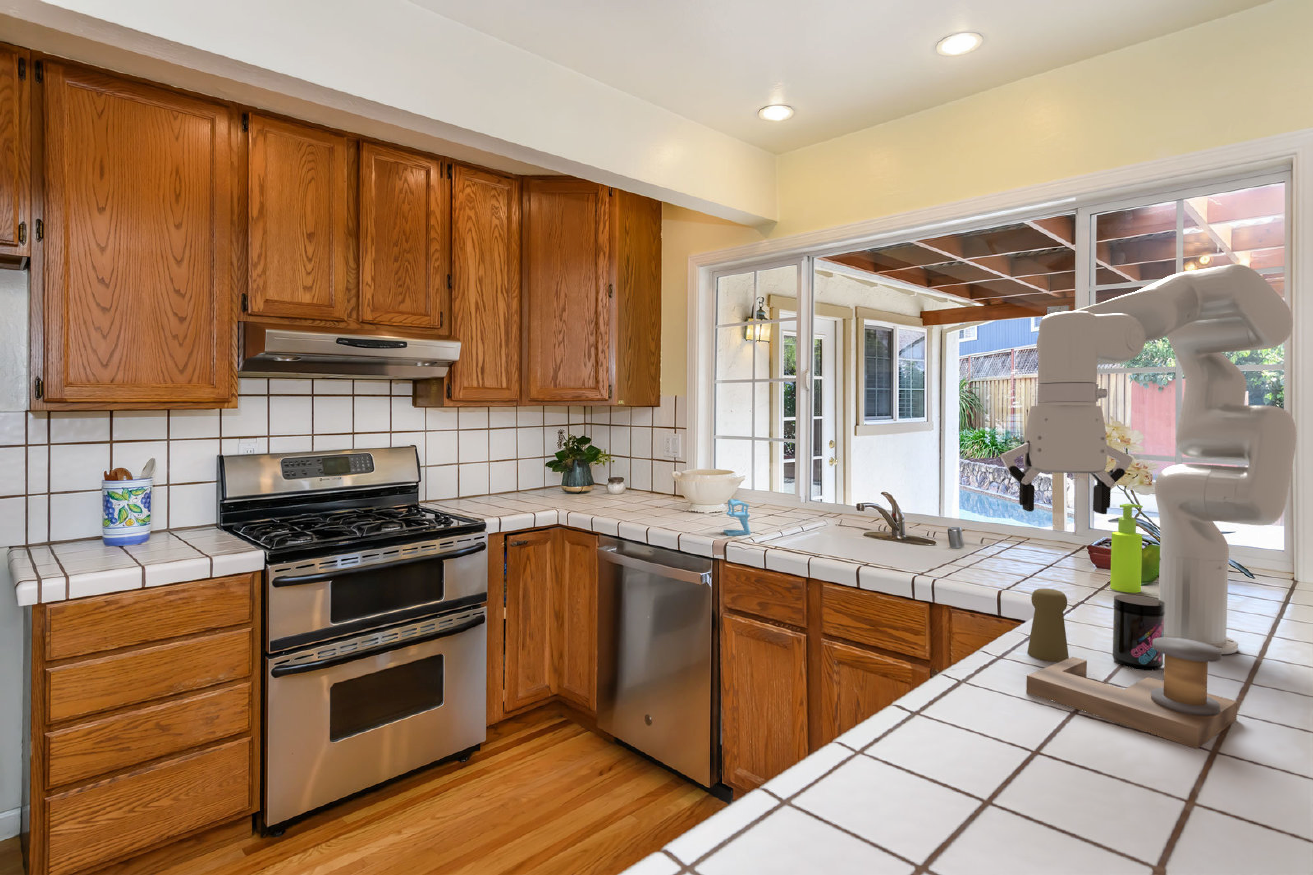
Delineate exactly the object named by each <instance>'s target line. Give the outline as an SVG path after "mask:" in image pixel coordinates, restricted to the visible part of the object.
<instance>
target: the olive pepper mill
mask: <svg viewBox="0 0 1313 875" xmlns="http://www.w3.org/2000/svg"><path fill="white" fill-rule="evenodd" d="M1030 598H1031V600H1030V601H1031V604H1032V606H1033V607H1034V613H1033V619H1032V624H1031V629H1030V636H1029V641H1028V647H1027V652H1026V653H1027V654H1028V656H1031V657H1032V658H1035V659H1038V660H1042V661H1046V662H1054V663H1059V662H1061V661H1063V660H1066V659H1068V658H1070V657H1069V649H1068V642H1067V641H1068V640H1067V633H1066V624H1065V617H1064V616H1065V615H1064V611H1065V610H1066V609H1067V607H1068V598H1067V596H1066V594H1065V593H1064V592H1062V591H1060V590H1057V589H1053V588H1038V589H1035V590H1033V592H1032V594H1031V597H1030Z"/></svg>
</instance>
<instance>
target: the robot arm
mask: <svg viewBox="0 0 1313 875" xmlns="http://www.w3.org/2000/svg"><path fill="white" fill-rule="evenodd" d="M1293 327H1294V321H1293V315H1292V311H1291V308H1290V307H1289V305H1288V304H1287V302H1286V301H1285V300H1284V299H1283V297H1282V296H1281V295H1280V294H1279V293H1278V292H1277V291H1276V290H1275V289H1274V287H1273V286H1272V285H1271V283H1269V282H1268V281H1267V280H1266V278H1265V277H1264V276H1263V275H1261V274H1260V273H1259V272H1257V271H1256V270H1254V268H1252V267H1249V266H1247V265H1245V264H1244V265H1243V264H1237V263H1236V264H1227V265H1221V266H1215V267H1214V266H1213V267H1209V268H1202V269H1196V270H1190V271H1183V272H1178V273H1175V274H1171V275H1168V276H1166V277H1164V278H1163V279H1160V280H1158V281H1156V282H1154V283H1151V284H1149V285H1147V286H1145V287H1142V288H1141V289H1138V290H1137V291H1135V292H1134V291H1133V292H1130V293H1127V294H1124V295H1123V294H1122V295H1120V296H1118V297H1117V296H1116V297H1114V298H1111V299H1108V300H1106V301H1102V302H1100V303H1095V304H1092V305H1089V306H1086V307H1081V308H1079V309H1076V310H1072V311H1071V310H1070V311H1068V310H1067V311H1061V312H1053V313H1050V314H1047V315H1045V316H1043V317H1042V318H1041V320H1040V322H1039V327H1038V336H1037V338H1036V339H1037V340H1036V352H1037V354H1038V355H1037V356H1038V360H1037V363H1038V364H1037V394H1036V395H1037V396H1036V398H1037V400H1036V403H1037V404H1036V405H1031V406H1030V408H1029V413H1028V417H1027V423H1026V428H1025V437H1024V443H1023V444H1021V445H1018V446H1016V447H1014V448H1012V449H1009V450H1008V451H1005V452H1003V453H1001V454H1000V459H1001V461H1002V463H1003V465H1004V467H1005V468H1006V471H1007V473H1009V475H1010V476H1012V477H1013V479H1014V480H1016V482H1017V483H1018V484H1019V496H1018V498H1019V500H1018V502H1019V505H1020V506H1022V510H1023V511H1026V512H1033V511H1035V485H1033V484H1032V481H1033V480H1034V479H1035V478H1036V477H1037V476H1038V475H1039V474H1040V473H1053V474H1054V473H1055V474H1056V473H1057V474H1089V475H1090V476H1091V477H1092V478H1093V479H1094V480H1095V481H1096V484H1094V486H1093V496H1092V498H1093V500H1092V501H1093V503H1092V511H1093V512H1094V513H1097V514H1099V515H1100V514H1101V515H1107V513H1108V509H1109V508H1111V490H1112V489H1111V488H1112V487H1114V486H1115V484H1116V483H1117V482H1118V481H1119V480H1120V479H1122V478H1123V477H1124V476H1125V474H1126V471H1127V470H1128V468H1129V467H1130V465H1131V463H1133V457H1132V456H1130V455H1128V454H1126V453H1125V452H1123V451H1120V450H1118V449H1116V448H1114V447H1112V446H1110V445H1108V444H1107V430H1106V424H1105V418H1104V413H1103V409H1102V406H1101V405H1097V403H1098V402H1099V399H1107V397H1108V389H1107V388H1102V387H1100V386H1099V384H1097V383H1098V366H1102V365H1115V364H1122V363H1123V364H1124V363H1126V362H1129V361H1131V360H1133V359H1134V358H1136V357H1138V356H1139V354H1140V353H1141V352H1142V351H1143V349H1144V347H1145V345H1146V343H1148V342H1153V341H1156V340H1159V339H1162V338H1164V337H1166V336H1167V340H1168V342H1169V344H1170V347H1171V349H1172V351H1173V353H1174V355H1175V357H1176V358H1177V360H1178V363H1179V365H1180V367H1181V370H1182V371H1183V374H1184V379H1185V380H1184V381H1185V383H1184V384H1185V386H1184V393H1183V399H1182V403H1181V408H1180V411H1179V412H1180V414H1179V418H1178V424H1177V429H1176V436H1175V437H1176V438H1175V441H1176V446H1177V449H1178V451H1180V453H1181V454H1182V455H1185V456H1187V457H1190V458H1192V459H1193V458H1195V459H1203V460H1214V461H1215V460H1217V461H1218V460H1219V461H1237V462H1248V463H1249V464H1248V466H1233V465H1232V466H1231V465H1230V466H1229V465H1228V466H1227V465H1217V464H1216V465H1215V464H1201V463H1182V464H1174V465H1171V466H1168V467H1166V468H1164V469H1163V470H1162V471H1160V472H1159V473H1158V475H1157V477H1156V479H1155V483H1154V495H1155V501H1156V506H1157V511H1158V516H1159V518H1158V519H1159V532H1160V534H1159V535H1160V536H1159V540H1160V542H1159V543H1160V544H1159V570H1158V572H1159V574H1158V575H1159V577H1158V600H1160V601H1163V602H1164V603H1165V614H1164V637H1171V638H1181V639H1188V640H1193V641H1198V642H1202V643H1205V644H1209V645H1212V646H1214V647H1216V648H1218V649H1220V650H1221V652H1222V655H1230V654H1234V653H1237V652H1239V645H1238V642H1237V641H1235V640H1234V639H1233V638H1229V637H1227V629H1228V628H1227V624H1228V622H1227V621H1228V598H1229V597H1228V594H1229V593H1228V590H1229V589H1228V588H1229V564H1230V561H1229V559H1230V548H1229V545H1228V542H1227V539H1226V538H1225V536H1224V534H1223V533H1222V532H1221V530H1220V529H1219V528H1218V527H1217V525H1216V524H1215V522H1222V523H1231V524H1238V525H1239V524H1240V525H1251V526H1270V525H1272V524H1275V523H1276V522H1277V521H1279V520H1280V518H1281V517H1282V515H1283V513H1284V510H1285V507H1286V504H1287V499H1288V492H1289V487H1290V480H1291V476H1292V470H1293V464H1294V458H1295V453H1296V447H1297V446H1296V445H1297V427H1296V423H1295V420H1294V418H1293V416H1292V415H1291V413H1289V412H1288V411H1287V410H1286V409H1284V408H1281V407H1279V406H1275V405H1269V404H1267V405H1265V404H1261V405H1260V404H1259V405H1258V404H1257V405H1256V404H1255V405H1245V398H1246V394H1247V393H1246V392H1247V388H1248V387H1247V386H1248V383H1247V379H1246V376H1245V375H1244V373H1243V372H1242V371H1241V370H1240V368H1239V367H1238V366H1237V365H1236V364H1235V363H1233V362H1232V361H1231V359H1229V358H1228V357H1227V356H1226V355H1224V353H1230V352H1233V353H1234V352H1245V351H1247V352H1248V351H1259V350H1268V349H1274V348H1277V347H1279V346H1281V345H1282V344H1285V342H1286V341H1287V340H1288V339H1289V337H1290V336H1291V334H1292V331H1293ZM1021 456H1023V461H1022V462H1023V465H1024V467H1025V468H1024V469H1023V470H1021V469H1020V468H1019V467H1018V466H1017V464H1016V462H1015V459H1017V458H1020V457H1021ZM1108 458H1111V459H1113V460H1115V464H1114V467H1113V468H1111V470H1109V471H1108V472H1107V471H1106V468H1107V462H1108Z"/></svg>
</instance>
